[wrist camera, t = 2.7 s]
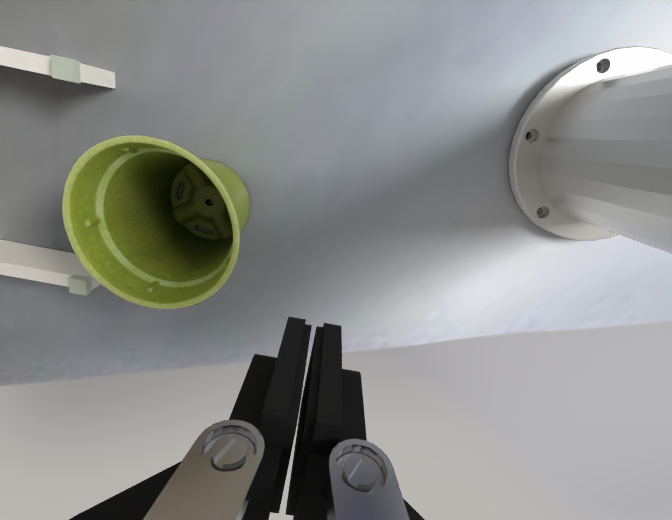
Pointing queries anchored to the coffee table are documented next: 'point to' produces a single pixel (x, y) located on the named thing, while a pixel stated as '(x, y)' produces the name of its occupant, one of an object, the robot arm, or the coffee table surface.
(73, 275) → the corral
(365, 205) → the coffee table surface
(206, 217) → the plant pot
